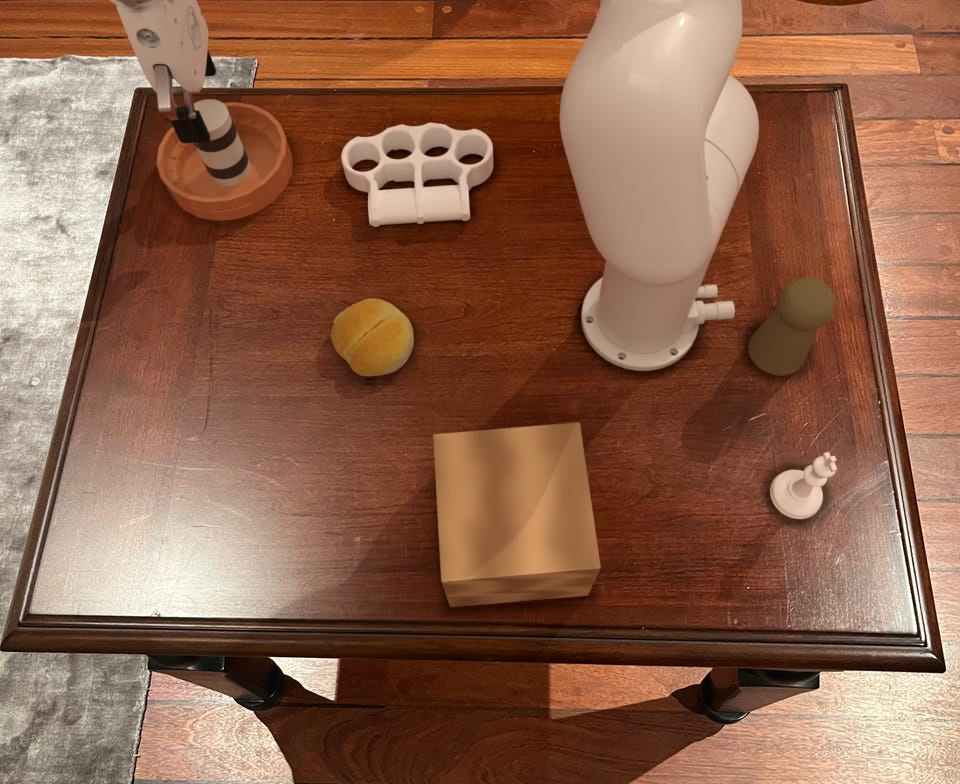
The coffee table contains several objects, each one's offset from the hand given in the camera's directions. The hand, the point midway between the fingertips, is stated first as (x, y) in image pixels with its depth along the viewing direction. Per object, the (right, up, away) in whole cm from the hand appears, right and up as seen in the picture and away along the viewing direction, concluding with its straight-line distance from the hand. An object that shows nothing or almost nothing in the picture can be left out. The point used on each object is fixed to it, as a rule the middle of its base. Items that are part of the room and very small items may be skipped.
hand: (199, 106), depth 88 cm
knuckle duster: (+24, -6, +8) cm, 26 cm away
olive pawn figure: (+63, -27, -3) cm, 68 cm away
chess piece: (+62, -42, -10) cm, 75 cm away
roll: (+1, -4, +9) cm, 10 cm away
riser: (+34, -45, -11) cm, 58 cm away
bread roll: (+20, -26, -1) cm, 33 cm away
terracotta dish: (+1, -5, +10) cm, 11 cm away
